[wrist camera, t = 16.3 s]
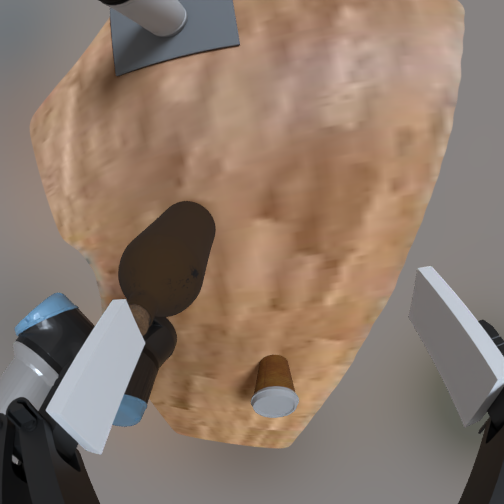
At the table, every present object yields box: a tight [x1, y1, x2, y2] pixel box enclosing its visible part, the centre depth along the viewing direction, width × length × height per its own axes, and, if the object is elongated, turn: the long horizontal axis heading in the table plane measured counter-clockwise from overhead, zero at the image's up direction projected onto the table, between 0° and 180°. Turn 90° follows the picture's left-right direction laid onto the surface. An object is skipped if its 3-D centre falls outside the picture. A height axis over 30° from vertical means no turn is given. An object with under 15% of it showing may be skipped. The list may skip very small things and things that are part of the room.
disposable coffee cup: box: [251, 355, 299, 418], centre depth 56 cm, size 10×10×12 cm
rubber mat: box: [110, 0, 240, 76], centre depth 32 cm, size 20×14×1 cm
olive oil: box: [118, 201, 215, 336], centre depth 37 cm, size 11×11×25 cm
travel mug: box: [99, 0, 188, 37], centre depth 23 cm, size 6×7×20 cm
